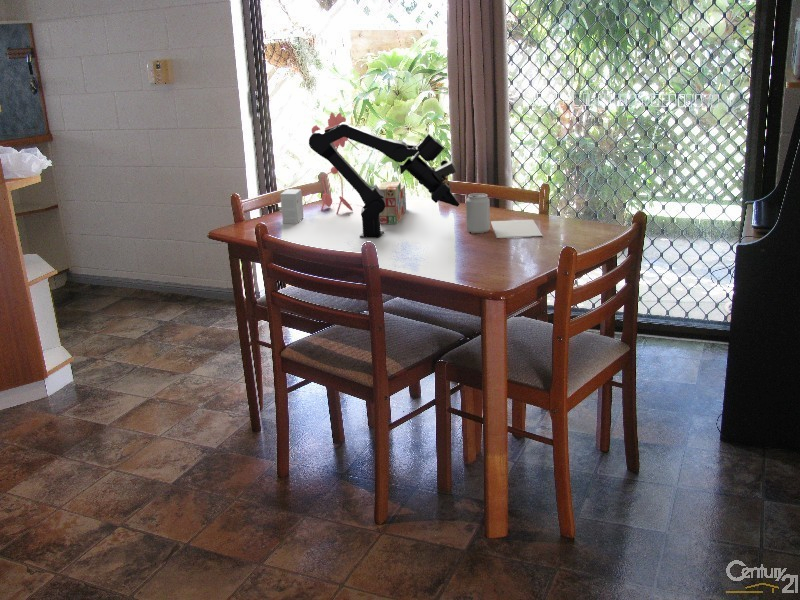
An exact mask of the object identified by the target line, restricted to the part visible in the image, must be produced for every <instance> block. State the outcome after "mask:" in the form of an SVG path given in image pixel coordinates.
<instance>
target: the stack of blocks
mask: <svg viewBox="0 0 800 600" xmlns="http://www.w3.org/2000/svg"><path fill="white" fill-rule="evenodd" d="M378 188H379V190H380V191H382V192H384V197H385V209H384V210H383V212H381V213H380V214H379V216H380V225H397V224H398V223H399V221H400V220H401V218H402V217H403V215H404V214H405V212H406V211H407V203H406V202H407V198H406V195H407V194H406V185H405V184H401V181H398V180H397V181H383V182H382V184H381V185H380V186H378Z"/></svg>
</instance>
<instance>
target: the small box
mask: <svg viewBox="0 0 800 600" xmlns="http://www.w3.org/2000/svg"><path fill="white" fill-rule="evenodd" d="M302 193H303V192H302V189H301V188H299V189H297V188H293V189H291V188H290V189H289V188H287V189H285V190H284V191H283V192H281V193H280V197H279V198H280V206H281V217H282V224H283V223H287V224H293V223H295V224H299V223H300V222H301V221H302V220H303V219H304V218H303V217H304V206H303V194H302ZM302 218H303V219H302ZM301 219H302V220H301ZM300 220H301V221H300ZM299 221H300V222H299ZM298 222H299V223H298Z"/></svg>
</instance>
